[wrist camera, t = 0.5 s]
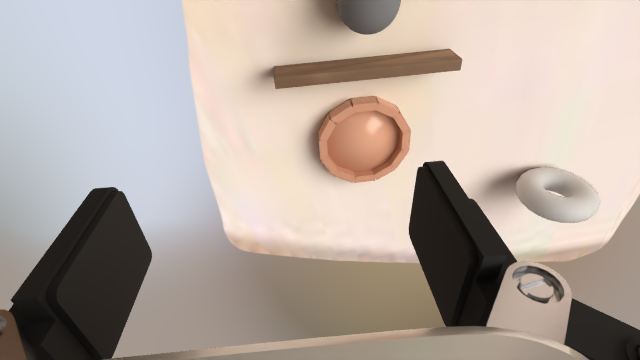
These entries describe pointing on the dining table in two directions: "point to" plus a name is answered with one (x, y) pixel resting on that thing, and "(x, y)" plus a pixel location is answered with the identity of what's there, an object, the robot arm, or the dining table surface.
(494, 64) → the dining table surface
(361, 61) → the wall
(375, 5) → the ball
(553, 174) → the donut
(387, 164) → the bowl
